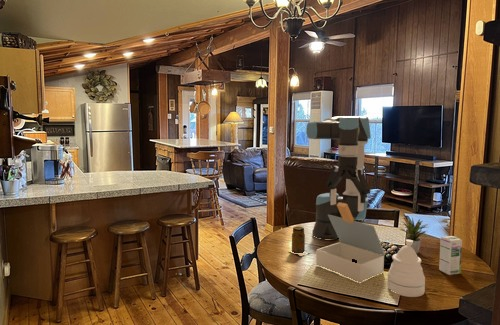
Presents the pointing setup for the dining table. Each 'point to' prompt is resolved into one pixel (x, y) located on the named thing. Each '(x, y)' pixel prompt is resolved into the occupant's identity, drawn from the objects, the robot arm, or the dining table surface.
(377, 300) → the dining table surface
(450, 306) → the dining table surface
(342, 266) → the mailer box
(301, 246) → the condiment
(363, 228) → the lid
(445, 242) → the syrup box
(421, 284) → the honey pot
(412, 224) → the house plant
